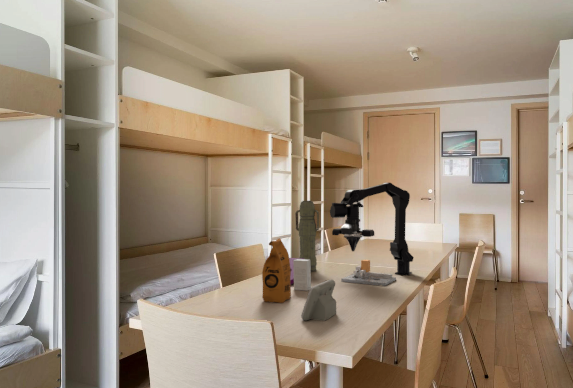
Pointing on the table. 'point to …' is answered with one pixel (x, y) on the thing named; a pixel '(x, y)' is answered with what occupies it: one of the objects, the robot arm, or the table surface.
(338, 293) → the table surface
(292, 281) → the purple package
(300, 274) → the skincare box
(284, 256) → the coffee package
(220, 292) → the table surface
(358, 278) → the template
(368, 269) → the slider
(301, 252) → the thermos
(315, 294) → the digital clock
